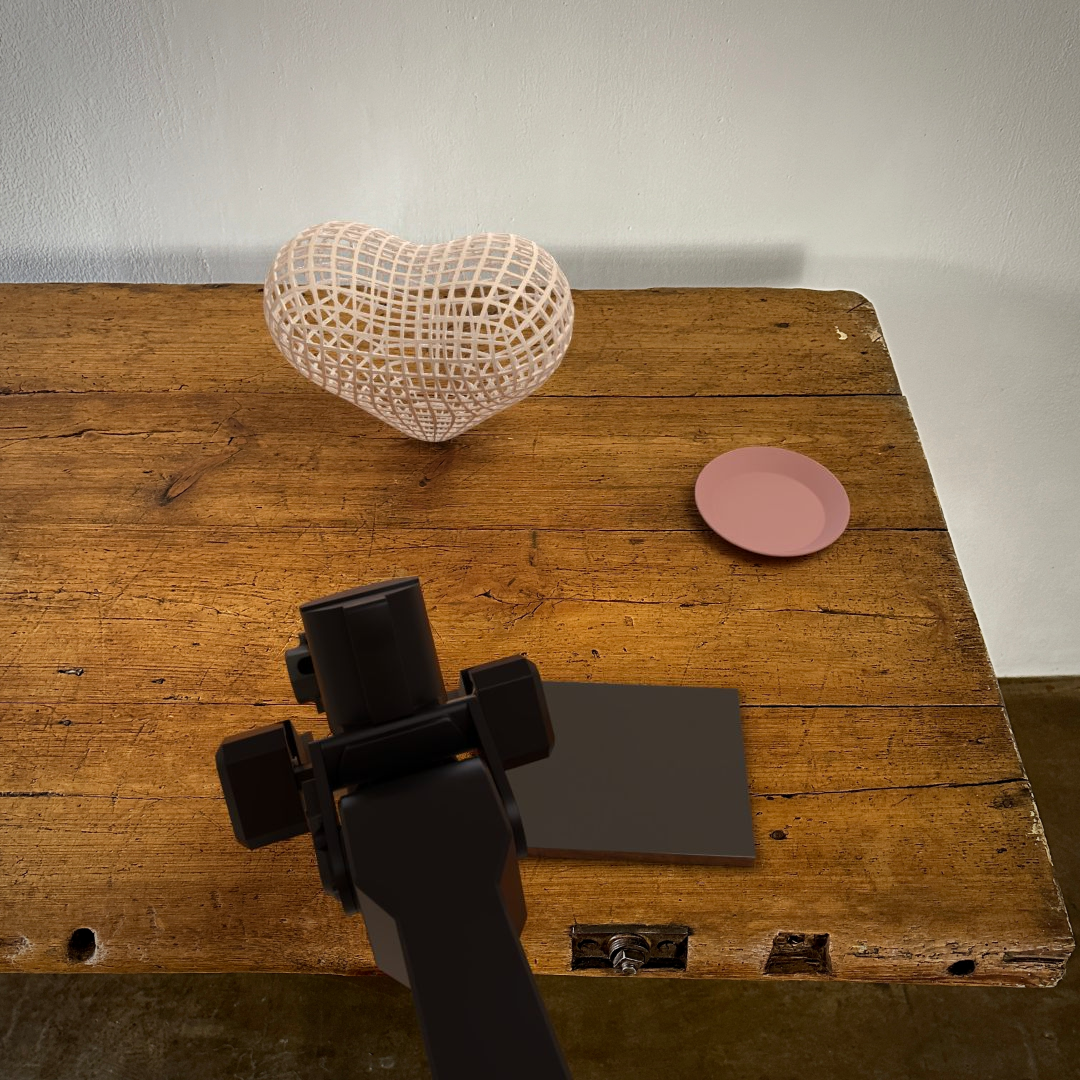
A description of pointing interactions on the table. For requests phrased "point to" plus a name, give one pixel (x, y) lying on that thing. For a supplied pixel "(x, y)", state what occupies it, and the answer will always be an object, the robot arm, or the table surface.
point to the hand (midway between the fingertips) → (379, 718)
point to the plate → (772, 501)
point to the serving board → (639, 776)
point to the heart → (420, 322)
